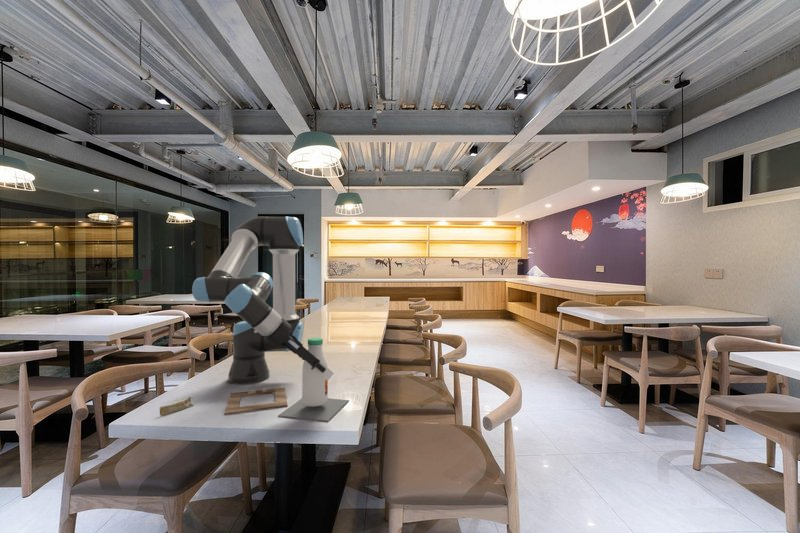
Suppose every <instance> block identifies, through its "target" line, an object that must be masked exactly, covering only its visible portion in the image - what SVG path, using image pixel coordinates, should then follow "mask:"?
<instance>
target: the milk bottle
mask: <svg viewBox="0 0 800 533" xmlns="http://www.w3.org/2000/svg"><path fill="white" fill-rule="evenodd" d="M323 343H324V340H323V338H321V337H311V338H308V339H307V348H308V349H307V350H308V351H309V352H310V353H311V354H312V355H314V356H315V357H316V358H317V359H319V360H320V362H321V363H323V364H324V365H325V366H326V367H327V368H328V361H327V358H326V356H325V354H324V351H323ZM311 368H312V366H311V365H310V364H309V363H308V362H307V361H305V360H303V363H302V375H301V376H302V379H301V381H302V382H301V383H302V384H301V390H302V392H301V394H302V395H301V399H302V402H303V404H304V405H305V406H310V407H315V406H320V405H323V404H325V403H326V402H327V399H328V398H329V397H328V392H329V390H328V385H329V384H328V382H329V380H326V379H325V378H324V377H323V376H322V375H321V374H320V373H318V372H317V371H316V370H315V369H313V370H312V369H311Z"/></svg>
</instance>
